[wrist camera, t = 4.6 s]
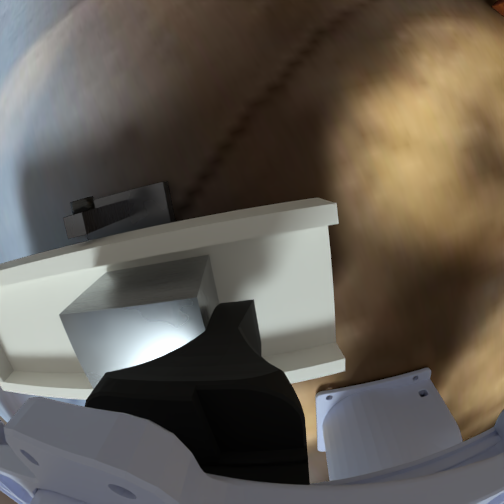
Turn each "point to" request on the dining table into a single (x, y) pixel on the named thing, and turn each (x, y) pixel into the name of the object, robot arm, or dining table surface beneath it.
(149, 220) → the beam stand
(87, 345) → the block
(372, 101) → the dining table surface
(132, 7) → the dining table surface
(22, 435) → the robot arm
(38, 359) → the balance beam
